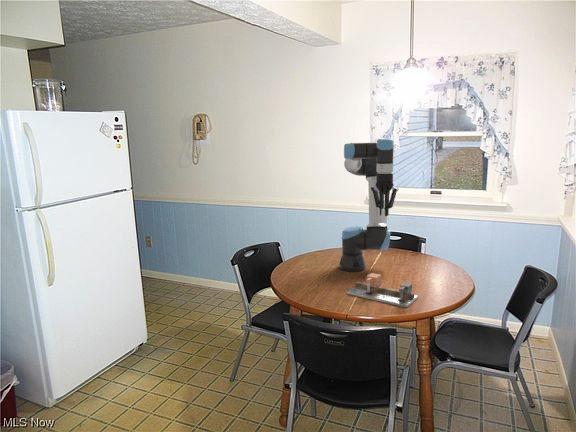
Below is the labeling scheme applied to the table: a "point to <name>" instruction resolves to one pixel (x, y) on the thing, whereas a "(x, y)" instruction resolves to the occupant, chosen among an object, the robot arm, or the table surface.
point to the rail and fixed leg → (392, 290)
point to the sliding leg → (373, 281)
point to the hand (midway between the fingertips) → (384, 222)
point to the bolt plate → (381, 296)
